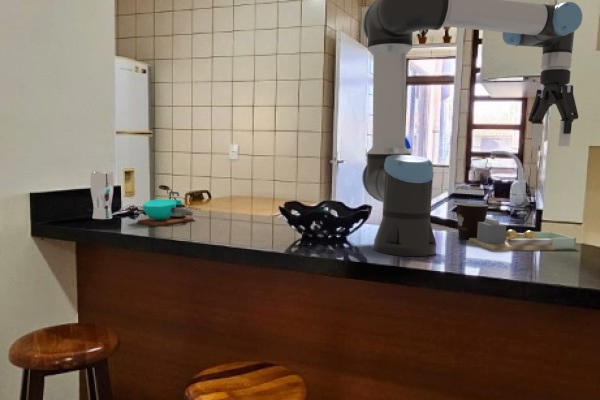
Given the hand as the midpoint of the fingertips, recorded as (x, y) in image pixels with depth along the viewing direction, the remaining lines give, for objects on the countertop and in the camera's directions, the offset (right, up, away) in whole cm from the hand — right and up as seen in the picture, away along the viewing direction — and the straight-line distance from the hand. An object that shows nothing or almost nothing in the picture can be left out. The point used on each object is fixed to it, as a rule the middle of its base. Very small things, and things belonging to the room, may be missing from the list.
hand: (549, 146), depth 150 cm
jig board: (-14, -28, -7) cm, 32 cm away
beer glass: (-135, -22, +21) cm, 139 cm away
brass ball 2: (-9, -25, -7) cm, 27 cm away
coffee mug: (-21, -27, +5) cm, 34 cm away
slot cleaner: (-20, -27, -8) cm, 34 cm away
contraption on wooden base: (-112, -23, +16) cm, 116 cm away
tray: (-1, -28, -4) cm, 28 cm away
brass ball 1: (-13, -25, -6) cm, 29 cm away
